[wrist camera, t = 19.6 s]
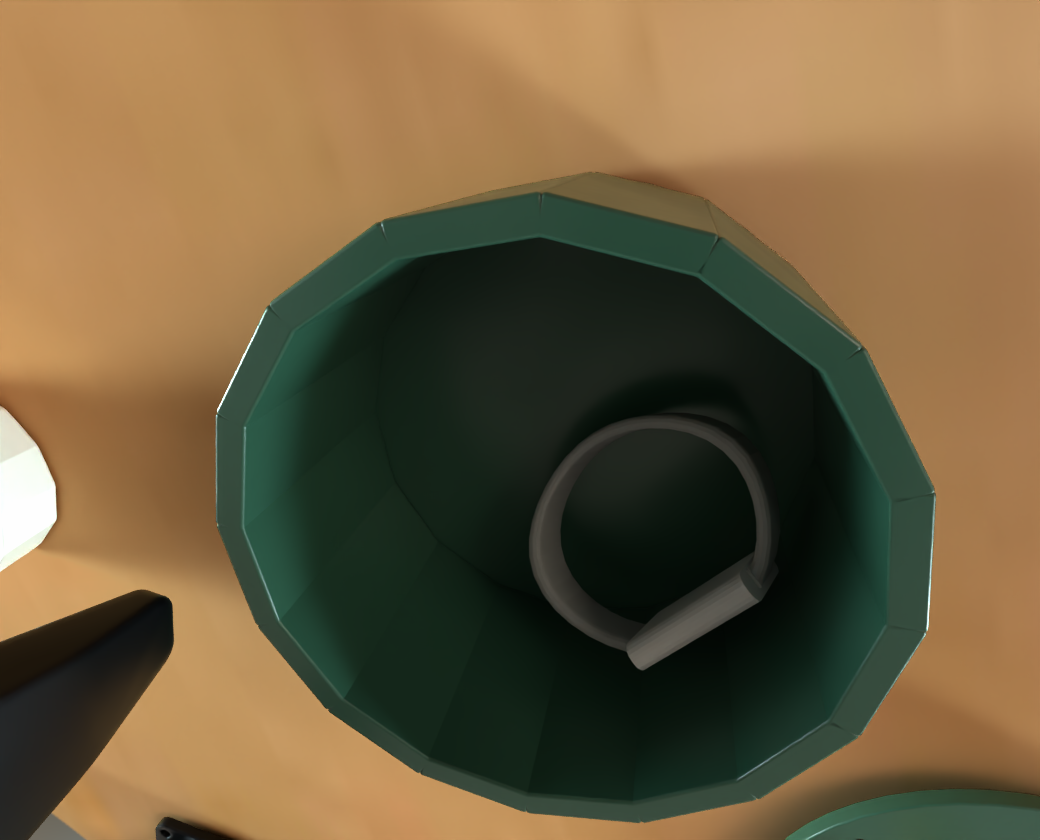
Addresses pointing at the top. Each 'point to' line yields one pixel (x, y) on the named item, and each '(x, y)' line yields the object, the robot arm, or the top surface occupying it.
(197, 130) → the top surface
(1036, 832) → the tin lid
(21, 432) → the white cup
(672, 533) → the tin
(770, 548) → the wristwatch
